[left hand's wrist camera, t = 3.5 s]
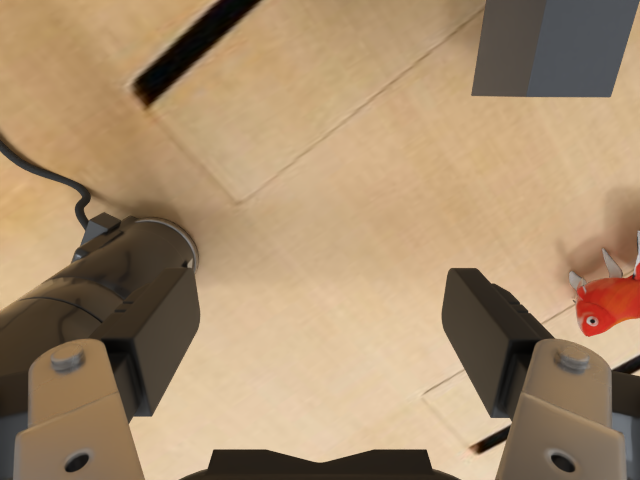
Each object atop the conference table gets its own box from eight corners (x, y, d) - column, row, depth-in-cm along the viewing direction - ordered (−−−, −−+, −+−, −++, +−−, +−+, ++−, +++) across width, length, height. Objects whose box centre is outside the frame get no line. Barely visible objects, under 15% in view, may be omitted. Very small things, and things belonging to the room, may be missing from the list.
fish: (537, 271, 37) (656, 322, 29) (619, 179, 40) (748, 203, 32) (542, 324, 44) (641, 376, 36) (613, 240, 47) (718, 273, 39)
